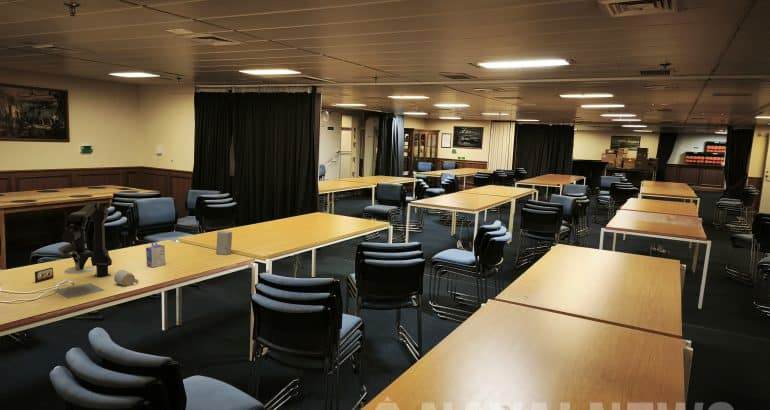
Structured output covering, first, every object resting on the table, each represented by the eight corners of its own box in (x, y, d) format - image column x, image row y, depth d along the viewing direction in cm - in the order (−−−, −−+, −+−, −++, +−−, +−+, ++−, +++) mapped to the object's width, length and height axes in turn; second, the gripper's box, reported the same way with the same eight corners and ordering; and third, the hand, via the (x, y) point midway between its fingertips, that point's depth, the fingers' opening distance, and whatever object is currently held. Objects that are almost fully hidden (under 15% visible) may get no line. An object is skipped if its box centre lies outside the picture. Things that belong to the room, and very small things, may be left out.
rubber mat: (53, 291, 235) (53, 290, 235) (90, 283, 249) (90, 283, 249) (67, 299, 226) (67, 298, 226) (105, 291, 239) (105, 290, 239)
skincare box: (215, 254, 322) (215, 231, 320) (221, 251, 329) (221, 230, 327) (227, 255, 321) (227, 232, 319) (232, 253, 328) (232, 231, 326)
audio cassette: (51, 278, 256) (51, 267, 255) (53, 278, 255) (53, 267, 255) (34, 282, 247) (34, 271, 246) (36, 283, 246) (36, 272, 246)
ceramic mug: (122, 288, 245) (122, 274, 244) (113, 285, 249) (113, 271, 248) (141, 283, 254) (141, 270, 253) (132, 280, 258) (132, 267, 257)
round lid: (59, 270, 235) (59, 262, 234) (87, 265, 245) (87, 258, 245) (70, 275, 227) (70, 267, 227) (99, 270, 238) (99, 262, 237)
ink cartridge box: (159, 263, 294) (159, 240, 292) (165, 264, 292) (165, 241, 290) (145, 266, 285) (145, 243, 283) (152, 268, 283) (151, 244, 281)
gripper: (52, 237, 233) (53, 267, 235) (67, 244, 222) (69, 275, 224) (77, 234, 242) (78, 263, 244) (93, 240, 231) (94, 271, 233)
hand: (79, 268), depth 236 cm, fingers closed on round lid, 4 cm apart
